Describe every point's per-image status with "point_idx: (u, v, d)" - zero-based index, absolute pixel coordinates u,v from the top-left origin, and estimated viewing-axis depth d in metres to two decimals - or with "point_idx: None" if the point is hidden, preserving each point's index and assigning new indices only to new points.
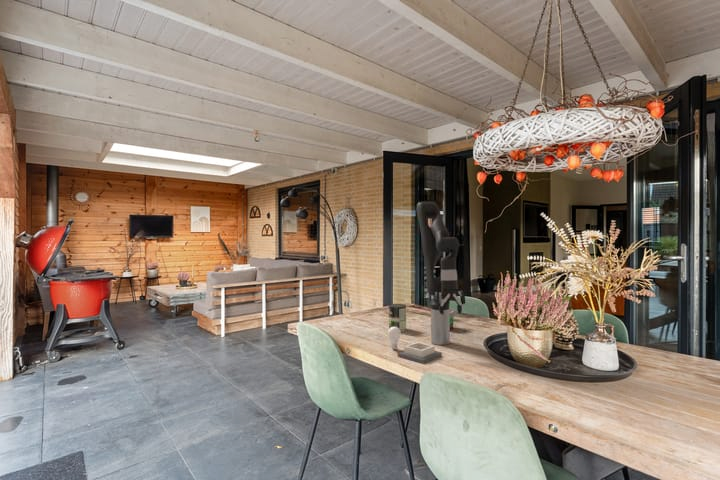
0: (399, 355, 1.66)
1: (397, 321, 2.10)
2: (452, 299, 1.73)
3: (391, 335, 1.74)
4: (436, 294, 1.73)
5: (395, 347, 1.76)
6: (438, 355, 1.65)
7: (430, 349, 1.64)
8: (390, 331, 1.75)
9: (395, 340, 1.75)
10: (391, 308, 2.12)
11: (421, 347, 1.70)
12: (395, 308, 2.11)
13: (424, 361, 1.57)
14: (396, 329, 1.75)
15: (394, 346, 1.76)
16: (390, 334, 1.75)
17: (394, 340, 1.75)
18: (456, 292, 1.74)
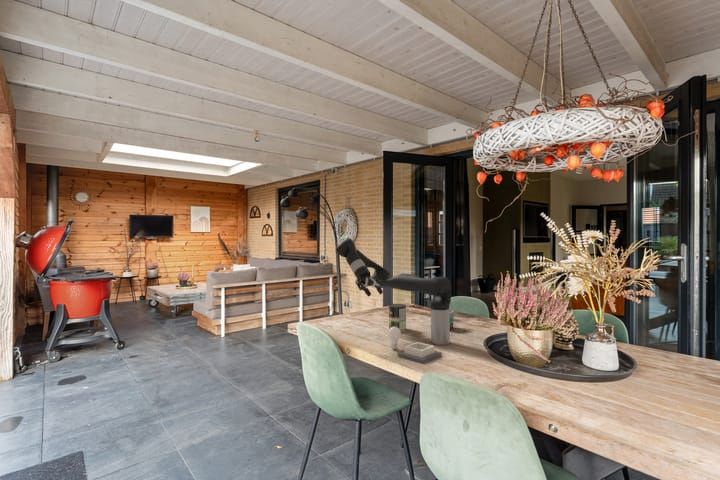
0: (399, 355, 1.66)
1: (397, 321, 2.10)
2: (371, 282, 1.89)
3: (391, 335, 1.74)
4: (357, 280, 1.85)
5: (395, 347, 1.76)
6: (438, 355, 1.65)
7: (430, 349, 1.64)
8: (390, 331, 1.75)
9: (395, 340, 1.75)
10: (391, 308, 2.12)
11: (421, 347, 1.70)
12: (395, 308, 2.11)
13: (424, 361, 1.57)
14: (396, 329, 1.75)
15: (394, 346, 1.76)
16: (390, 334, 1.75)
17: (394, 340, 1.75)
18: (371, 277, 1.92)
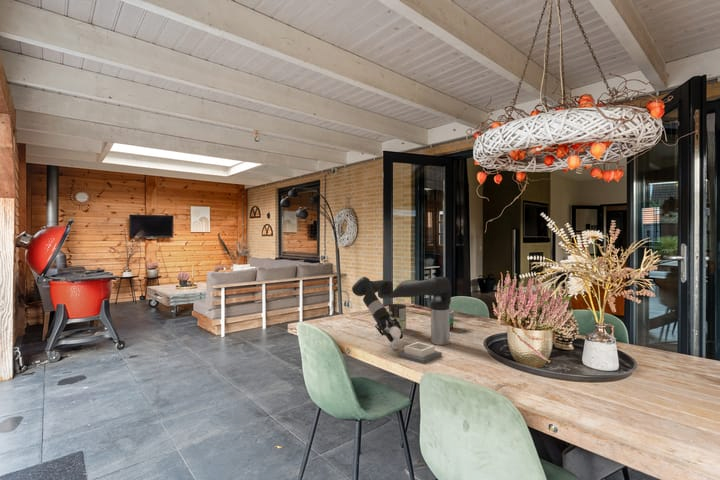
0: (399, 355, 1.66)
1: None
2: (390, 325, 1.79)
3: (391, 335, 1.74)
4: (377, 325, 1.75)
5: (395, 347, 1.76)
6: (438, 355, 1.65)
7: (430, 349, 1.64)
8: (390, 331, 1.75)
9: (395, 340, 1.75)
10: (391, 308, 2.12)
11: (421, 347, 1.70)
12: (395, 308, 2.11)
13: (424, 361, 1.57)
14: (396, 329, 1.75)
15: (394, 346, 1.76)
16: None
17: (394, 340, 1.75)
18: (390, 319, 1.83)
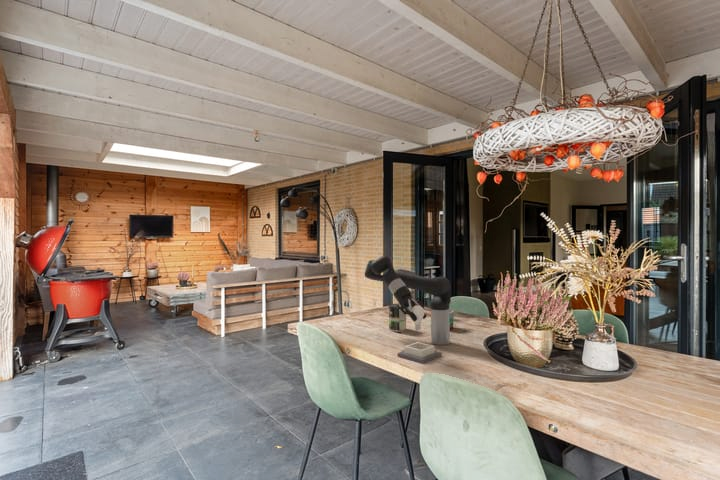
0: (399, 355, 1.66)
1: (397, 321, 2.10)
2: (413, 304, 1.69)
3: None
4: (400, 303, 1.65)
5: (418, 327, 1.66)
6: (438, 355, 1.65)
7: (430, 349, 1.64)
8: (413, 310, 1.65)
9: (418, 319, 1.65)
10: (391, 308, 2.12)
11: (421, 347, 1.70)
12: (395, 308, 2.11)
13: (424, 361, 1.57)
14: (420, 308, 1.65)
15: (417, 326, 1.66)
16: None
17: (417, 320, 1.65)
18: (412, 298, 1.72)
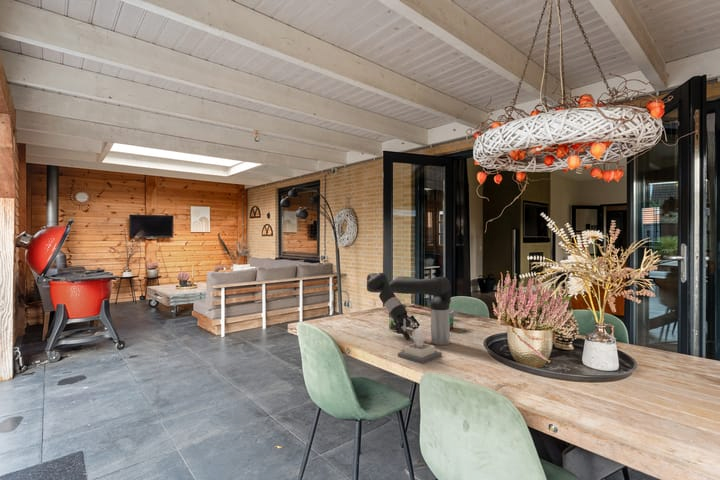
0: (399, 355, 1.66)
1: None
2: (409, 323, 1.71)
3: (416, 337, 1.64)
4: (394, 322, 1.67)
5: None
6: (438, 355, 1.65)
7: (430, 349, 1.64)
8: (415, 333, 1.65)
9: (420, 342, 1.65)
10: None
11: None
12: None
13: (424, 361, 1.57)
14: (421, 331, 1.65)
15: None
16: (415, 336, 1.64)
17: (419, 343, 1.65)
18: (408, 317, 1.74)
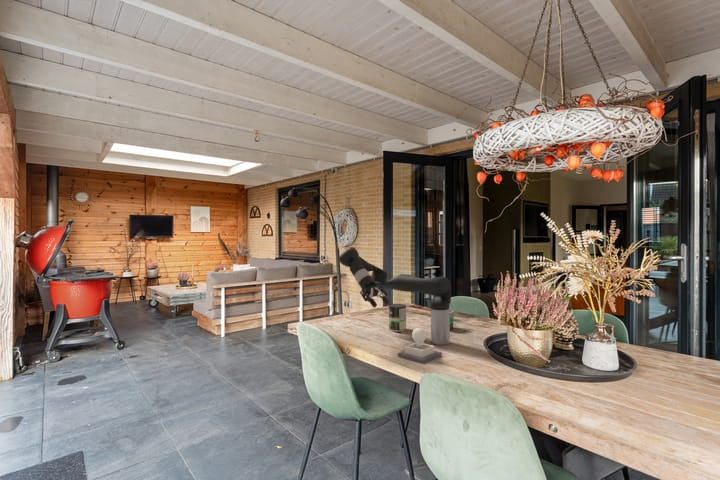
0: (399, 355, 1.66)
1: (397, 321, 2.10)
2: (376, 292, 1.81)
3: (416, 337, 1.64)
4: (362, 290, 1.77)
5: None
6: (438, 355, 1.65)
7: (430, 349, 1.64)
8: (415, 333, 1.65)
9: (420, 342, 1.65)
10: (391, 308, 2.12)
11: None
12: (395, 308, 2.11)
13: (424, 361, 1.57)
14: (421, 331, 1.65)
15: None
16: (415, 336, 1.64)
17: (419, 343, 1.65)
18: (376, 287, 1.84)
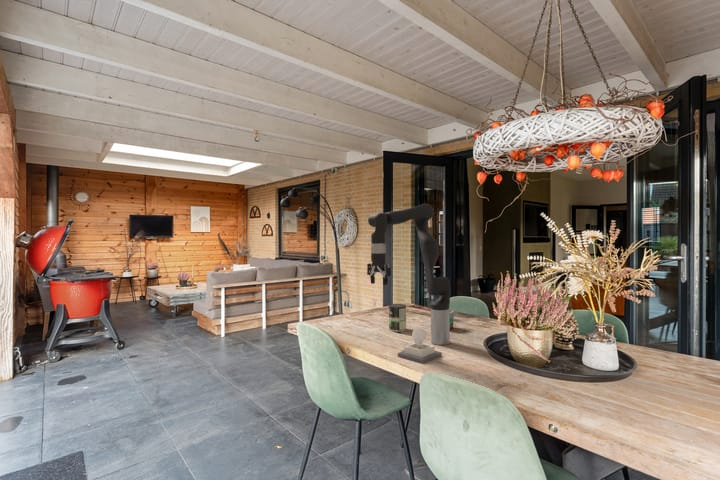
0: (399, 355, 1.66)
1: (397, 321, 2.10)
2: (378, 271, 1.87)
3: (416, 337, 1.64)
4: None
5: None
6: (438, 355, 1.65)
7: (430, 349, 1.64)
8: (415, 333, 1.65)
9: (420, 342, 1.65)
10: (391, 308, 2.12)
11: None
12: (395, 308, 2.11)
13: (424, 361, 1.57)
14: (421, 331, 1.65)
15: None
16: (415, 336, 1.64)
17: (419, 343, 1.65)
18: (381, 265, 1.85)
